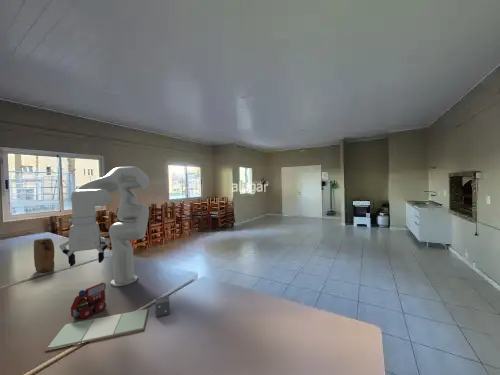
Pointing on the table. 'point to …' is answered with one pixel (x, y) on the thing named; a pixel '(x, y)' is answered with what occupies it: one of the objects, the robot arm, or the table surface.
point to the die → (162, 306)
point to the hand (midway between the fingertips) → (87, 263)
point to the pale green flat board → (101, 328)
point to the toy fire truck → (89, 301)
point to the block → (44, 255)
